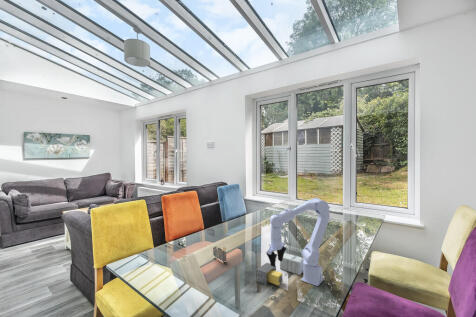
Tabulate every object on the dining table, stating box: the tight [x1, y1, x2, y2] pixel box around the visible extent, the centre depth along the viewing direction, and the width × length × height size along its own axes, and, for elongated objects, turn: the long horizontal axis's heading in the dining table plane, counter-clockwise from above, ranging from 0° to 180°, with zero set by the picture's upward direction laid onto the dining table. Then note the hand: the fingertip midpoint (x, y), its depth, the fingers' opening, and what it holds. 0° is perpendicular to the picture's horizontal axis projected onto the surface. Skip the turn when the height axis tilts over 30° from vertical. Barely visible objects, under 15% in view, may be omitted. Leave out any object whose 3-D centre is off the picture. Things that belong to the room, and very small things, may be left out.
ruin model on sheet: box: [212, 245, 227, 262], centre depth 147 cm, size 11×3×10 cm, turn 39°
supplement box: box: [279, 252, 304, 276], centre depth 132 cm, size 7×7×13 cm
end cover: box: [268, 270, 284, 286], centre depth 120 cm, size 10×5×5 cm, turn 50°
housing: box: [256, 262, 277, 286], centre depth 122 cm, size 6×10×6 cm, turn 140°
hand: (276, 263), depth 119 cm, fingers open, 7 cm apart
